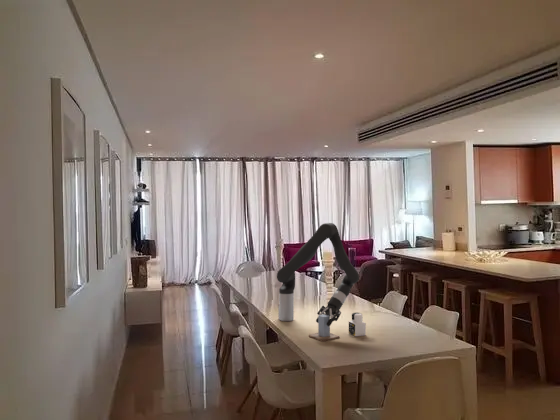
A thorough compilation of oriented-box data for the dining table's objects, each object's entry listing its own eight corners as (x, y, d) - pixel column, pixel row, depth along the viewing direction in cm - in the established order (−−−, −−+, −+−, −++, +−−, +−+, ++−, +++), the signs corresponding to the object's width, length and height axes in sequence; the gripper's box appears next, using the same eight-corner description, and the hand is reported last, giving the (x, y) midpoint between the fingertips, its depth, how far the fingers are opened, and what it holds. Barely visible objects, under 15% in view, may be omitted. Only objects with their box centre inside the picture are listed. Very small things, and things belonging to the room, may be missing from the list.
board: (308, 336, 252) (308, 334, 252) (324, 332, 259) (324, 331, 259) (323, 341, 243) (323, 339, 243) (339, 337, 250) (339, 336, 250)
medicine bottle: (348, 333, 259) (348, 312, 259) (359, 332, 261) (359, 311, 261) (354, 336, 252) (354, 315, 252) (365, 335, 255) (365, 314, 255)
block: (318, 335, 251) (318, 315, 251) (324, 333, 254) (324, 314, 254) (323, 337, 248) (323, 317, 248) (329, 335, 251) (329, 315, 251)
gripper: (325, 294, 261) (310, 317, 254) (342, 298, 250) (327, 322, 243) (331, 302, 264) (317, 325, 257) (349, 306, 253) (334, 330, 246)
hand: (322, 323), depth 250 cm, fingers open, 8 cm apart
